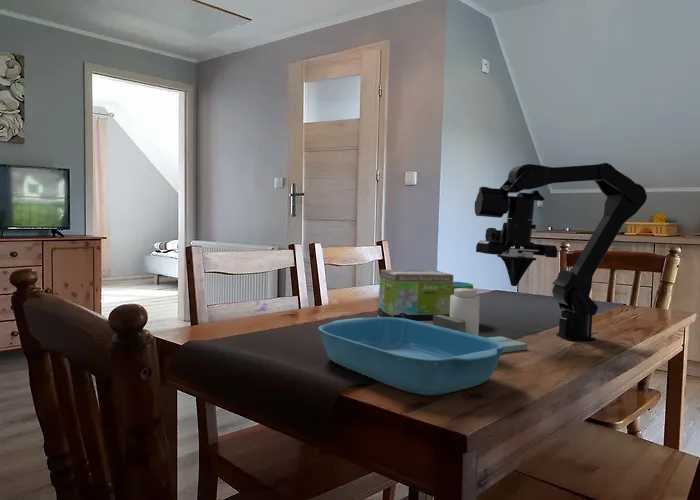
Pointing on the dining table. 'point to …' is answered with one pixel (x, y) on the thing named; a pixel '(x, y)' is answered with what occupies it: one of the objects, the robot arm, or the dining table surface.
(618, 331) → the dining table surface
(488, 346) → the casserole dish
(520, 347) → the stud rail
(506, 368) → the dining table surface
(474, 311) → the white pill bottle
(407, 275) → the tea box
